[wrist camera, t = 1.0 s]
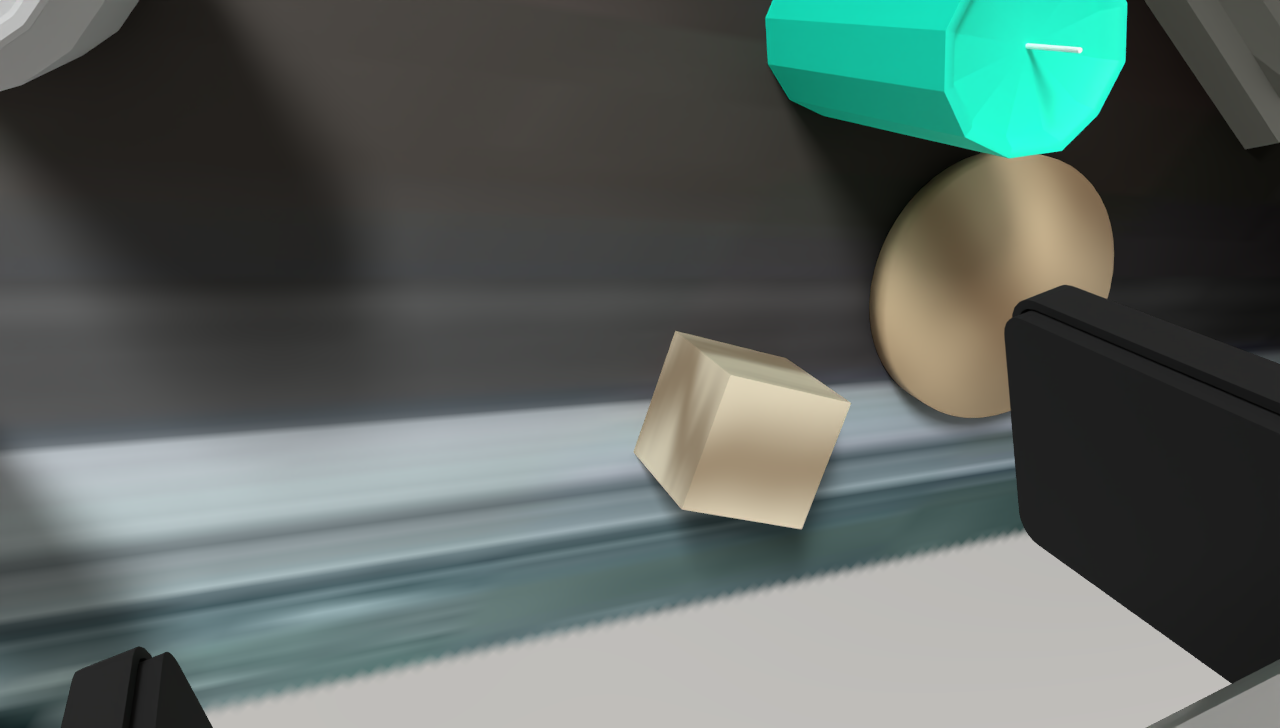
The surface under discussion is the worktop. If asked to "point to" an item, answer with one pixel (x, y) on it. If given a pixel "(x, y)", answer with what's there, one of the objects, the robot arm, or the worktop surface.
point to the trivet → (981, 273)
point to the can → (53, 34)
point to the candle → (953, 66)
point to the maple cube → (739, 432)
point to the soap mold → (1231, 59)
